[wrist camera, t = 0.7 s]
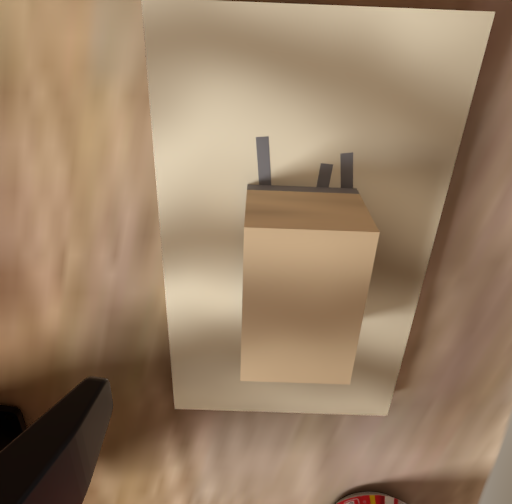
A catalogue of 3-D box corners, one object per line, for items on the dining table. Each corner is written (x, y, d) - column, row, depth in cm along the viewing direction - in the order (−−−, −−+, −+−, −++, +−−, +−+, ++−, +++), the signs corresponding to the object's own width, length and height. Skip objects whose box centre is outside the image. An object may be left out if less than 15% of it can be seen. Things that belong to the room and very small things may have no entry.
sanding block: (335, 322, 21) (350, 384, 18) (243, 319, 21) (240, 380, 18) (356, 188, 18) (379, 232, 14) (247, 184, 18) (243, 227, 14)
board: (380, 395, 26) (387, 416, 25) (179, 388, 26) (174, 409, 24) (476, 11, 16) (495, 11, 15) (151, -2, 16) (140, -3, 15)
